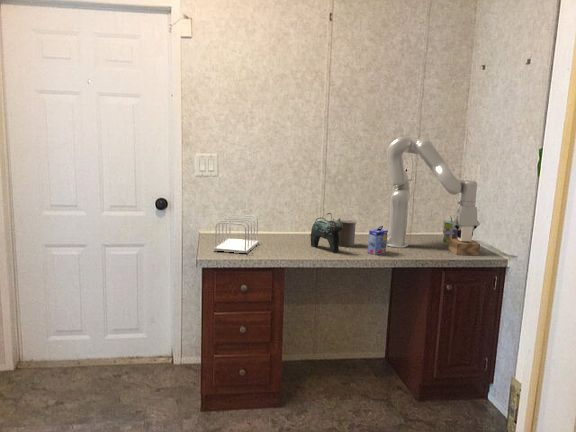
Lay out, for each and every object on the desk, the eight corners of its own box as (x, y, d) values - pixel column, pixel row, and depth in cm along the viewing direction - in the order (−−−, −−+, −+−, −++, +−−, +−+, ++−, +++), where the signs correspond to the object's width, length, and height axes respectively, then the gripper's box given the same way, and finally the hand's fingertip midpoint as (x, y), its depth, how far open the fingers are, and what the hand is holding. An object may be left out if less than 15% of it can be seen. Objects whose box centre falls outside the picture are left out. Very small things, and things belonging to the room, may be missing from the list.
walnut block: (456, 254, 264) (457, 243, 263) (448, 249, 276) (449, 238, 275) (478, 255, 265) (480, 244, 264) (469, 249, 277) (470, 239, 276)
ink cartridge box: (375, 255, 258) (377, 227, 256) (367, 253, 262) (368, 225, 259) (386, 252, 265) (388, 225, 263) (377, 250, 269) (379, 223, 266)
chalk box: (459, 243, 292) (462, 218, 289) (443, 242, 294) (445, 217, 291) (457, 240, 301) (460, 215, 298) (441, 239, 303) (443, 214, 300)
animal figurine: (342, 252, 262) (344, 214, 258) (333, 254, 258) (335, 215, 254) (315, 245, 277) (317, 209, 273) (307, 246, 272) (308, 210, 269)
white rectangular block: (461, 241, 267) (462, 225, 265) (457, 238, 272) (458, 223, 271) (471, 241, 267) (473, 225, 265) (467, 239, 272) (468, 223, 271)
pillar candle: (337, 247, 274) (339, 219, 271) (335, 242, 283) (337, 216, 281) (355, 247, 274) (357, 220, 271) (352, 243, 284) (354, 217, 281)
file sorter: (246, 254, 252) (246, 224, 249) (213, 252, 255) (213, 221, 252) (258, 243, 276) (259, 215, 273) (228, 241, 279) (228, 213, 277)
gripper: (454, 204, 262) (451, 238, 265) (486, 205, 263) (483, 239, 266) (449, 202, 269) (446, 235, 273) (480, 203, 270) (477, 236, 273)
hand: (464, 237), depth 269 cm, fingers closed on white rectangular block, 5 cm apart
